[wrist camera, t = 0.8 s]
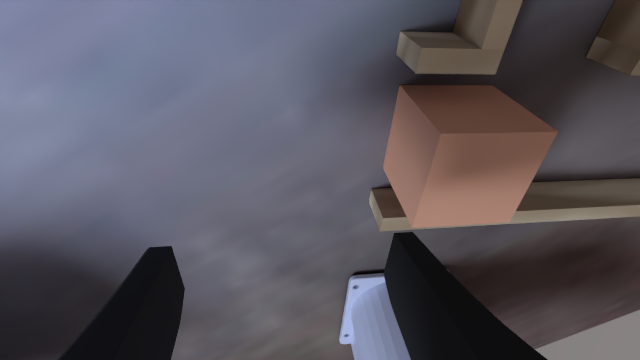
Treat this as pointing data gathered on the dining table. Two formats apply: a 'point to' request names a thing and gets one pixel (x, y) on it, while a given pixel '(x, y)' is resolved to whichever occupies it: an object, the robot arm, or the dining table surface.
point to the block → (462, 154)
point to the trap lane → (483, 58)
